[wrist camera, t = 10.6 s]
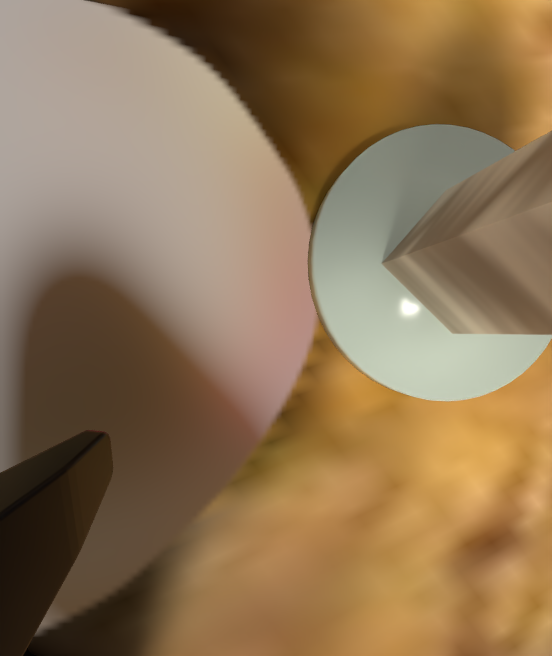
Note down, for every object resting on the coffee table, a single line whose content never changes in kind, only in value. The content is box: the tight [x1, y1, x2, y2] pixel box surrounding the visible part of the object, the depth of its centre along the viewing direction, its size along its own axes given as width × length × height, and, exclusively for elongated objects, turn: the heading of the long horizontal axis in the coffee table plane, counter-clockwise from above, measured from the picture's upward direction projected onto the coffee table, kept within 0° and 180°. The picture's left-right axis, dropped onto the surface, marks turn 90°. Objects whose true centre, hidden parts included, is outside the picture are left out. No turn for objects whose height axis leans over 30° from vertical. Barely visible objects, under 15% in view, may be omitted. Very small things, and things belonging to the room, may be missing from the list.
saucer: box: [308, 124, 552, 401], centre depth 21 cm, size 12×12×1 cm
